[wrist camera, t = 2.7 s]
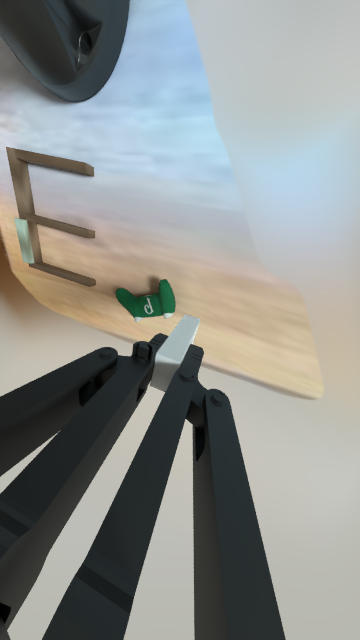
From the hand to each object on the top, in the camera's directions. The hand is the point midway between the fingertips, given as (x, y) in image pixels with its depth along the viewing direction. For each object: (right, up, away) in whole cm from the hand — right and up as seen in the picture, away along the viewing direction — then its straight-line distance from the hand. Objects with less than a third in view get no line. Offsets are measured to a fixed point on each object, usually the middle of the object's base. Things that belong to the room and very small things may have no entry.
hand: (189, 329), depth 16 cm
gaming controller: (-7, +7, +10) cm, 14 cm away
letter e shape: (-20, +17, +12) cm, 29 cm away
